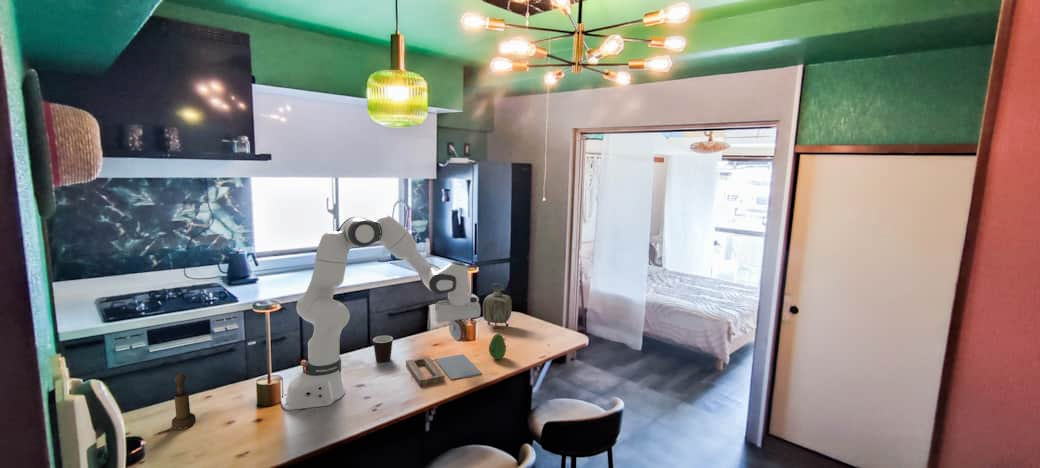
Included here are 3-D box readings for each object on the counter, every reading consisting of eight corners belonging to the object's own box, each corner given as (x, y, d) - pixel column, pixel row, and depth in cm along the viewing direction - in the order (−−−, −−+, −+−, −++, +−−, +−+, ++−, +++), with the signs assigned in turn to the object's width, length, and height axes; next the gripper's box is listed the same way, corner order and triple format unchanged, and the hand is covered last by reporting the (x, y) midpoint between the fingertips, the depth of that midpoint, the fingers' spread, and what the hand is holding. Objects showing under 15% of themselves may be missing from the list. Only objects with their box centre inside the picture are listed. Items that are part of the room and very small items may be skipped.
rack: (419, 386, 194) (419, 380, 194) (406, 365, 213) (406, 360, 212) (444, 381, 199) (444, 375, 199) (429, 361, 218) (429, 356, 217)
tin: (466, 344, 205) (468, 325, 204) (459, 344, 203) (461, 325, 202) (453, 332, 218) (455, 314, 217) (447, 332, 216) (449, 314, 216)
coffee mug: (387, 365, 213) (387, 343, 211) (369, 362, 215) (369, 341, 213) (399, 354, 224) (399, 334, 223) (382, 352, 226) (381, 332, 224)
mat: (451, 380, 200) (451, 379, 200) (434, 360, 219) (434, 359, 219) (481, 374, 207) (481, 373, 207) (463, 355, 226) (463, 354, 226)
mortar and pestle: (169, 431, 158) (165, 380, 156) (174, 421, 164) (170, 372, 161) (193, 427, 161) (189, 377, 158) (197, 417, 167) (193, 369, 164)
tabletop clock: (511, 326, 267) (512, 282, 263) (507, 331, 258) (508, 286, 254) (486, 323, 270) (487, 280, 266) (481, 328, 262) (482, 284, 258)
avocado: (503, 354, 228) (503, 330, 226) (507, 361, 221) (508, 336, 219) (486, 356, 226) (487, 331, 224) (491, 363, 218) (491, 338, 216)
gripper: (437, 303, 200) (437, 334, 203) (482, 297, 210) (481, 328, 212) (432, 299, 206) (432, 329, 208) (476, 294, 215) (476, 323, 218)
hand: (457, 328), depth 210 cm, fingers closed on tin, 2 cm apart
